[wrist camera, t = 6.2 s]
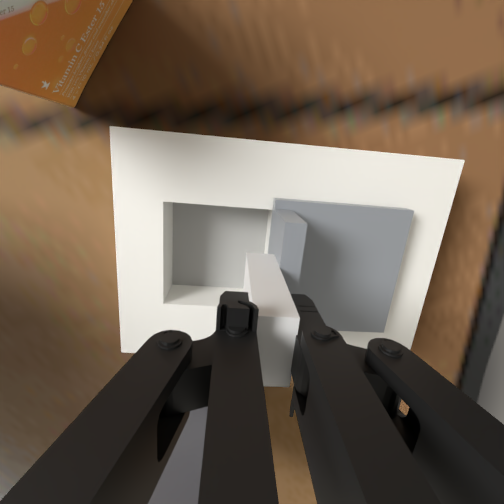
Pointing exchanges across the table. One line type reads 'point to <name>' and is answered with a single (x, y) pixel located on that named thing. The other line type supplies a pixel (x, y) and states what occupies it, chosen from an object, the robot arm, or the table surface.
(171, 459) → the plug
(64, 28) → the small box
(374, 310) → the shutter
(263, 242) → the socket
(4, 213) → the table surface
